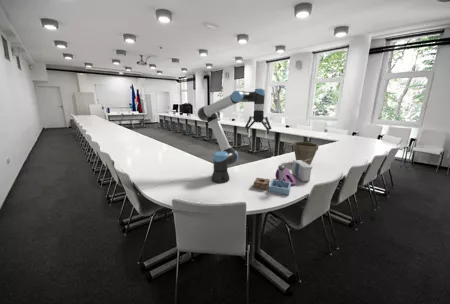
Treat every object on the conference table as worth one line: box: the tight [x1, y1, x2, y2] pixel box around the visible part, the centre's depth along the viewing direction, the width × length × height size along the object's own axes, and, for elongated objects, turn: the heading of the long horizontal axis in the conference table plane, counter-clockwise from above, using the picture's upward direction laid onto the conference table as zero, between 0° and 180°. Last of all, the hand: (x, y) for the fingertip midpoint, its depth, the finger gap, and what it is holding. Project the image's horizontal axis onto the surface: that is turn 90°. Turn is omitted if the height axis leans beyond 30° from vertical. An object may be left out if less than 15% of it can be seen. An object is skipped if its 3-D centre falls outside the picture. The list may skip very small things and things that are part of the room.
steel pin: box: [277, 164, 286, 188], centre depth 146 cm, size 5×5×18 cm
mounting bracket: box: [275, 167, 297, 187], centre depth 164 cm, size 9×8×18 cm
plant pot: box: [292, 141, 320, 166], centre depth 212 cm, size 25×25×22 cm
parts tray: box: [268, 179, 292, 196], centre depth 148 cm, size 14×14×4 cm
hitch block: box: [253, 177, 270, 191], centre depth 153 cm, size 10×10×5 cm
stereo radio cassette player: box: [291, 159, 313, 182], centre depth 172 cm, size 21×8×20 cm, turn 5°
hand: (257, 137), depth 155 cm, fingers open, 13 cm apart
